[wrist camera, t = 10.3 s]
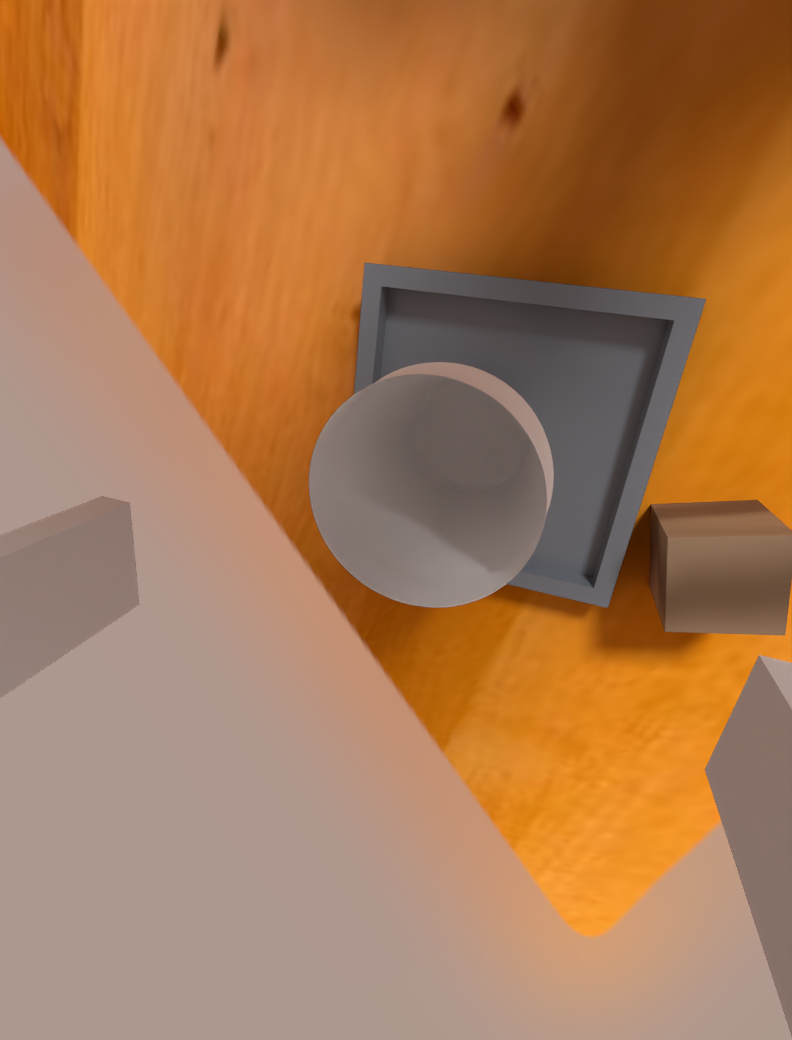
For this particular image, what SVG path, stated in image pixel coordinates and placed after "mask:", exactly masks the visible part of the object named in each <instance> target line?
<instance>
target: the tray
mask: <svg viewBox="0 0 792 1040" xmlns="http://www.w3.org/2000/svg"><path fill="white" fill-rule="evenodd" d="M705 301H706V299H701V298H692V297H682V296H673V295H664V294H654V293H645V292H635V291H626V290H617V289H607V288H598V287H588V286H579V285H570V284H560V283H551V282H541V281H532V280H522V279H513V278H504V277H494V276H485V275H475V274H466V273H457V272H447V271H438V270H428V269H419V268H410V267H400V266H391V265H381V264H372V263H365V266H364V278H363V291H362V303H361V315H360V328H359V340H358V353H357V365H356V377H355V390H354V394H356V393H357V392H359V391H360V390H362V389H364V388H366V387H368V386H369V385H371V384H373V383H375V382H377V381H378V380H380V379H381V378H382V377H384V376H386V375H388V374H390V373H392V372H394V371H397V370H399V369H401V368H404V367H408V366H411V365H416V364H421V363H431V362H449V363H457V364H463V365H467V366H471V367H474V368H477V369H480V370H483V371H485V372H487V373H489V374H491V375H493V376H495V377H497V378H498V379H500V380H502V381H503V382H505V383H506V384H507V385H509V386H510V387H511V388H513V389H514V390H515V391H516V392H517V393H518V394H519V395H520V396H521V397H522V398H523V399H524V400H525V401H526V402H527V404H528V405H529V406H530V407H531V409H532V410H533V412H534V413H535V414H536V416H537V418H538V420H539V421H540V423H541V425H542V427H543V429H544V432H545V434H546V437H547V440H548V443H549V446H550V450H551V455H552V460H553V470H554V482H553V491H552V497H551V501H550V506H549V509H548V512H547V515H546V519H545V523H544V527H543V531H542V534H541V537H540V540H539V542H538V544H537V546H536V548H535V551H534V552H533V554H532V556H531V557H530V559H529V560H528V562H527V563H526V565H525V566H524V567H523V568H522V570H521V571H520V572H519V573H518V574H517V575H516V576H515V577H514V578H513V579H512V580H511V581H509V582H508V583H507V584H508V585H513V586H517V587H521V588H525V589H529V590H534V591H538V592H542V593H546V594H551V595H555V596H559V597H563V598H568V599H572V600H576V601H580V602H584V603H589V604H593V605H597V606H601V607H606V608H608V606H609V603H610V600H611V596H612V593H613V590H614V587H615V584H616V581H617V578H618V574H619V571H620V568H621V565H622V562H623V559H624V556H625V552H626V549H627V546H628V543H629V540H630V537H631V534H632V530H633V527H634V524H635V521H636V518H637V515H638V512H639V508H640V505H641V502H642V499H643V496H644V493H645V490H646V486H647V483H648V480H649V477H650V474H651V471H652V467H653V464H654V461H655V458H656V455H657V452H658V449H659V445H660V442H661V439H662V436H663V433H664V430H665V427H666V423H667V420H668V417H669V414H670V411H671V408H672V405H673V401H674V398H675V395H676V392H677V389H678V386H679V383H680V379H681V376H682V373H683V370H684V367H685V364H686V361H687V357H688V354H689V351H690V348H691V345H692V342H693V339H694V335H695V332H696V329H697V326H698V323H699V320H700V317H701V313H702V310H703V307H704V304H705Z"/></svg>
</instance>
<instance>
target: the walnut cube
mask: <svg viewBox="0 0 792 1040" xmlns="http://www.w3.org/2000/svg"><path fill="white" fill-rule="evenodd" d="M791 580H792V530H791V529H789V528H788V527H787V526H786V525H785V524H784V523H783V522H782V521H780V520H779V519H778V518H777V517H776V516H775V515H774V514H773V513H771V512H770V511H769V510H768V509H767V508H766V507H765V506H764V505H762V504H761V503H760V502H759V501H758V500H745V501H720V502H695V503H670V504H651V525H650V577H649V587H650V590H651V593H652V595H653V598H654V601H655V604H656V607H657V610H658V613H659V616H660V619H661V622H662V624H663V627H664V630H665V632H690V633H723V634H756V635H785V632H786V623H787V614H788V606H789V597H790V588H791Z"/></svg>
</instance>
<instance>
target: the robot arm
mask: <svg viewBox="0 0 792 1040" xmlns="http://www.w3.org/2000/svg"><path fill="white" fill-rule="evenodd" d="M138 605H139V596H138V585H137V574H136V563H135V554H134V542H133V531H132V521H131V511H130V503H128V502H124V501H120V500H116V499H112V498H108V497H104V496H102V497H99V498H96V499H94V500H92V501H89V502H86V503H83V504H81V505H78V506H76V507H73V508H70V509H68V510H65V511H63V512H60V513H57V514H55V515H52V516H49V517H47V518H44V519H42V520H39V521H36V522H34V523H31V524H28V525H26V526H23V527H21V528H18V529H15V530H13V531H10V532H7V533H5V534H2V535H0V698H1V697H3V696H4V695H6V694H7V693H9V692H10V691H12V690H13V689H15V688H16V687H18V686H19V685H20V684H22V683H24V682H25V681H26V680H28V679H29V678H31V677H32V676H34V675H36V674H37V673H38V672H40V671H41V670H43V669H44V668H46V667H47V666H49V665H50V664H52V663H53V662H55V661H56V660H58V659H59V658H61V657H62V656H64V655H65V654H67V653H68V652H70V651H71V650H73V649H74V648H76V647H77V646H79V645H80V644H82V643H83V642H84V641H86V640H87V639H89V638H90V637H92V636H93V635H95V634H96V633H98V632H99V631H101V630H102V629H104V628H105V627H107V626H108V625H110V624H111V623H113V622H114V621H116V620H117V619H119V618H120V617H121V616H123V615H124V614H126V613H128V612H129V611H130V610H132V609H133V608H135V607H136V606H138ZM705 771H706V775H707V778H708V781H709V784H710V787H711V790H712V793H713V796H714V799H715V802H716V805H717V808H718V811H719V814H720V818H721V821H722V824H723V827H724V830H725V833H726V836H727V839H728V842H729V845H730V848H731V851H732V854H733V857H734V860H735V863H736V867H737V870H738V873H739V876H740V879H741V882H742V885H743V888H744V891H745V894H746V897H747V900H748V903H749V906H750V909H751V913H752V916H753V919H754V922H755V925H756V928H757V931H758V934H759V937H760V940H761V943H762V946H763V950H764V953H765V956H766V959H767V962H768V965H769V968H770V971H771V974H772V977H773V980H774V983H775V986H776V989H777V992H778V995H779V999H780V1002H781V1004H782V1008H783V1011H784V1014H785V1017H786V1020H787V1023H788V1026H789V1029H790V1032H791V1035H792V663H790V662H786V661H782V660H778V659H774V658H769V657H765V656H761V655H759V656H758V659H757V661H756V663H755V665H754V667H753V669H752V671H751V673H750V675H749V678H748V680H747V682H746V684H745V686H744V688H743V690H742V692H741V694H740V697H739V699H738V701H737V703H736V705H735V707H734V709H733V711H732V713H731V716H730V718H729V720H728V722H727V724H726V726H725V728H724V730H723V733H722V735H721V737H720V739H719V741H718V743H717V745H716V747H715V749H714V752H713V754H712V756H711V758H710V760H709V762H708V764H707V766H706V768H705Z"/></svg>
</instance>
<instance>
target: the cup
mask: <svg viewBox="0 0 792 1040" xmlns="http://www.w3.org/2000/svg"><path fill="white" fill-rule="evenodd" d="M553 482H554V470H553V460H552V455H551V450H550V446H549V443H548V440H547V437H546V434H545V432H544V429H543V427H542V425H541V423H540V421H539V420H538V418H537V416H536V414H535V413H534V412H533V410H532V409H531V407H530V406H529V405H528V404H527V402H526V401H525V400H524V399H523V398H522V397H521V396H520V395H519V394H518V393H517V392H516V391H515V390H514V389H513V388H511V387H510V386H509V385H507V384H506V383H505V382H503V381H502V380H500V379H498V378H497V377H495V376H493V375H491V374H489V373H487V372H485V371H483V370H480V369H477V368H474V367H471V366H467V365H463V364H457V363H449V362H431V363H421V364H416V365H411V366H408V367H404V368H401V369H399V370H397V371H394V372H392V373H390V374H388V375H386V376H384V377H382V378H381V379H380V380H378V381H377V382H375V383H373V384H371V385H369V386H368V387H366V388H364V389H362V390H360V391H359V392H357V393H356V394H354V395H353V396H351V397H350V398H349V399H348V400H346V401H345V402H344V403H343V404H342V405H341V406H340V407H339V408H338V409H337V410H336V411H335V412H334V413H333V415H332V416H331V417H330V419H329V420H328V421H327V423H326V425H325V426H324V428H323V430H322V431H321V433H320V435H319V438H318V440H317V442H316V445H315V448H314V451H313V455H312V459H311V464H310V471H309V494H310V501H311V507H312V511H313V515H314V518H315V521H316V524H317V527H318V529H319V531H320V533H321V536H322V537H323V539H324V541H325V543H326V545H327V546H328V548H329V549H330V551H331V552H332V554H333V555H334V556H335V558H336V559H337V560H338V561H339V563H340V564H341V565H342V566H343V567H344V568H345V569H346V570H347V571H348V572H349V573H350V574H351V575H352V576H354V577H355V578H356V579H357V580H359V581H360V582H361V583H362V584H364V585H365V586H367V587H369V588H370V589H372V590H373V591H375V592H377V593H379V594H381V595H383V596H385V597H388V598H390V599H392V600H395V601H398V602H401V603H405V604H409V605H414V606H420V607H432V608H440V607H453V606H459V605H464V604H467V603H471V602H474V601H477V600H479V599H482V598H484V597H486V596H488V595H490V594H492V593H494V592H496V591H497V590H499V589H500V588H502V587H503V586H505V585H506V584H507V583H508V582H509V581H511V580H512V579H513V578H514V577H515V576H516V575H517V574H518V573H519V572H520V571H521V570H522V568H523V567H524V566H525V565H526V563H527V562H528V560H529V559H530V557H531V556H532V554H533V552H534V551H535V548H536V546H537V544H538V542H539V540H540V537H541V534H542V531H543V527H544V523H545V519H546V515H547V512H548V509H549V506H550V501H551V497H552V491H553Z"/></svg>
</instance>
